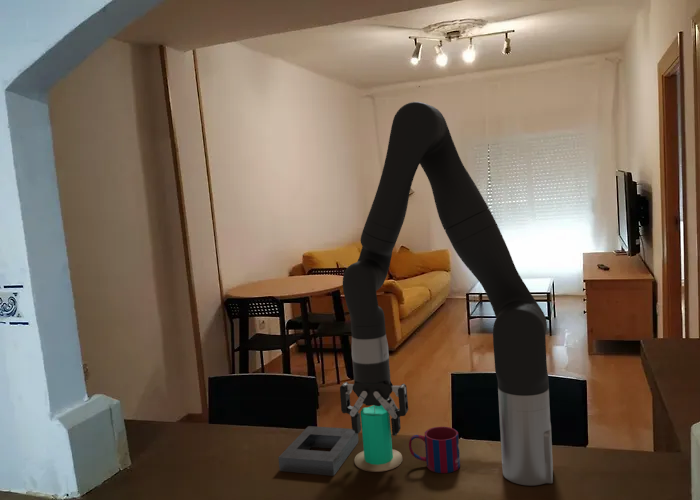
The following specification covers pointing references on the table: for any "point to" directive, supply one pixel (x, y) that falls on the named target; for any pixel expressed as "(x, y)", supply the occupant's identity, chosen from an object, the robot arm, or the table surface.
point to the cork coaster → (390, 465)
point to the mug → (440, 449)
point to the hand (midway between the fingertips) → (376, 433)
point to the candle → (376, 435)
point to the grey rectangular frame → (318, 461)
